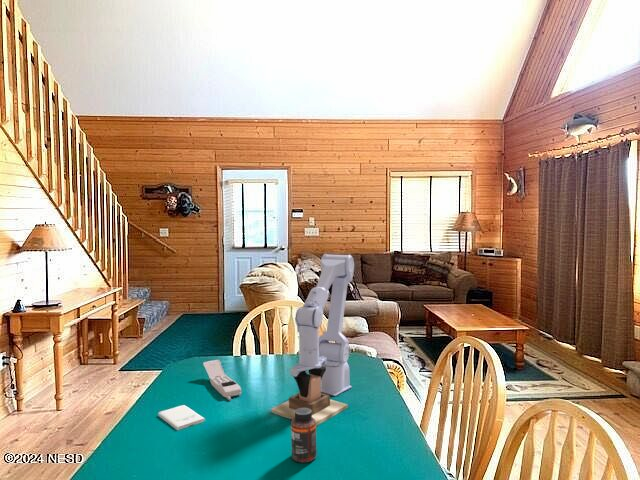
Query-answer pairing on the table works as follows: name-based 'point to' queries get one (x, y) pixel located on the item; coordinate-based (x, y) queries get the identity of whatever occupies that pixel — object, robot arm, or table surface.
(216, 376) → the mobile phone
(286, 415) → the socket board
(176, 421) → the external hard drive
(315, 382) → the square peg
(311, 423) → the supplement bottle
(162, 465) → the table surface
